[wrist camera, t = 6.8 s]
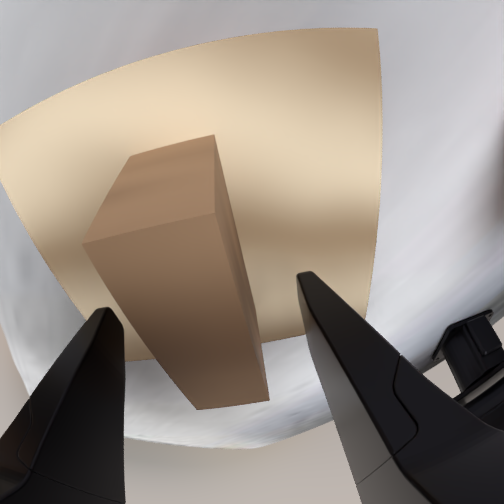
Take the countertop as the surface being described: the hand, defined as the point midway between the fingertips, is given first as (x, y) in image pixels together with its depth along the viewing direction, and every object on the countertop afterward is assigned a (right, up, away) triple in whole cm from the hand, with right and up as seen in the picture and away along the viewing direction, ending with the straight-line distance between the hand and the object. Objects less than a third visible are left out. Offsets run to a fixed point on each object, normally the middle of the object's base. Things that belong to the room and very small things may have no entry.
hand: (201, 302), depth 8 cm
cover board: (0, +2, +3) cm, 3 cm away
